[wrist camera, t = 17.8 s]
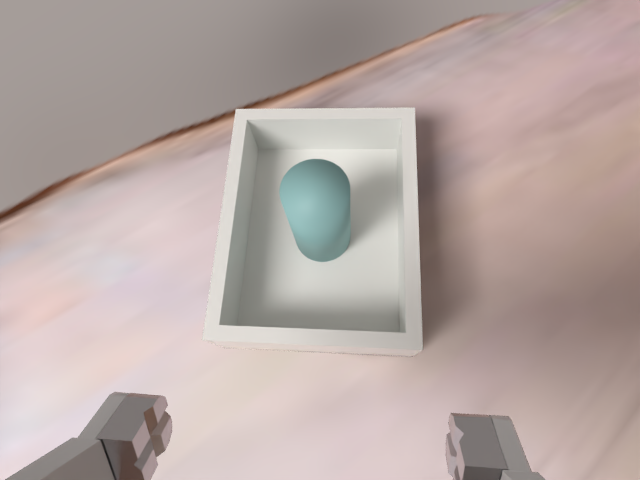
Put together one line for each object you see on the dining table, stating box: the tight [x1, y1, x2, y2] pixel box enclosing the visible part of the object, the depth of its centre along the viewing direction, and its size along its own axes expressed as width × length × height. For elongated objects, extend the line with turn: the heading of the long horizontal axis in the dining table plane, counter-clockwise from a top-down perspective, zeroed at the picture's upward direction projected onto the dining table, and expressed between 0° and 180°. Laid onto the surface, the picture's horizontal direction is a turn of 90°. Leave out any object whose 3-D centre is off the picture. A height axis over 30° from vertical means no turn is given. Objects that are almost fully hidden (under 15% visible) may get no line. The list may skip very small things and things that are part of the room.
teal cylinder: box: [279, 159, 351, 262], centre depth 29 cm, size 4×4×8 cm
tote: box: [202, 108, 423, 357], centre depth 31 cm, size 14×18×5 cm
